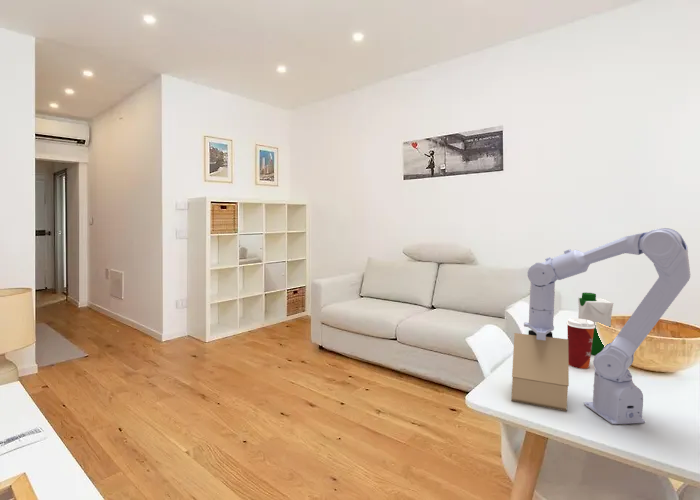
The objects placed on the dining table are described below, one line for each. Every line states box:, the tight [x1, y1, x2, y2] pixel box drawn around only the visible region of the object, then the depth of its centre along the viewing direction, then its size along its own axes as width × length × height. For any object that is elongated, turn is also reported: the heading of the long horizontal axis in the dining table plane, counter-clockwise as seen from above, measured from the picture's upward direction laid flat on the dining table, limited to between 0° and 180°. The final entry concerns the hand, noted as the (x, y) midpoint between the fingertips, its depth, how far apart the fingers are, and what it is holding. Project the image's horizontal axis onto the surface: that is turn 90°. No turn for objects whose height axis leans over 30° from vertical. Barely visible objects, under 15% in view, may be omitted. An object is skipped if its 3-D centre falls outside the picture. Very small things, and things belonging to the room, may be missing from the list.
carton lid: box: [511, 332, 570, 387], centre depth 96 cm, size 11×12×1 cm
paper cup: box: [566, 317, 595, 370], centre depth 120 cm, size 8×8×14 cm
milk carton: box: [577, 292, 614, 356], centre depth 131 cm, size 9×9×20 cm
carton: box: [511, 377, 569, 412], centre depth 99 cm, size 11×12×6 cm
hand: (539, 359), depth 102 cm, fingers closed
